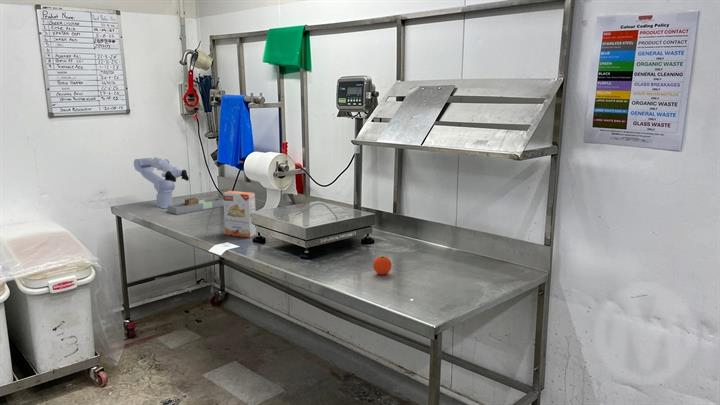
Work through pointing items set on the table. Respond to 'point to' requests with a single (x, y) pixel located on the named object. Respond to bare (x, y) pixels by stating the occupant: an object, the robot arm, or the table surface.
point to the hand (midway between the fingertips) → (181, 179)
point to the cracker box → (239, 213)
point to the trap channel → (196, 206)
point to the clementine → (382, 265)
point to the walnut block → (191, 201)
